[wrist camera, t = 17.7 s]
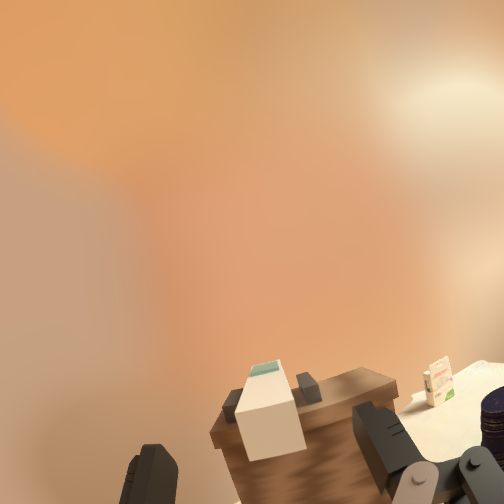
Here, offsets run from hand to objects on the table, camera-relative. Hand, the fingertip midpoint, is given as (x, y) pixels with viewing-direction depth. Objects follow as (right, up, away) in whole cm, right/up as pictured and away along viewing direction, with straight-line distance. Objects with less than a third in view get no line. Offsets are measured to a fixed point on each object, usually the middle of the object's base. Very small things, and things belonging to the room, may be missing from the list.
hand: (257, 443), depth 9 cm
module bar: (+2, -9, +17) cm, 19 cm away
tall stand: (+13, -39, +11) cm, 42 cm away
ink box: (+59, -39, +54) cm, 89 cm away
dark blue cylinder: (+46, -31, +14) cm, 57 cm away
